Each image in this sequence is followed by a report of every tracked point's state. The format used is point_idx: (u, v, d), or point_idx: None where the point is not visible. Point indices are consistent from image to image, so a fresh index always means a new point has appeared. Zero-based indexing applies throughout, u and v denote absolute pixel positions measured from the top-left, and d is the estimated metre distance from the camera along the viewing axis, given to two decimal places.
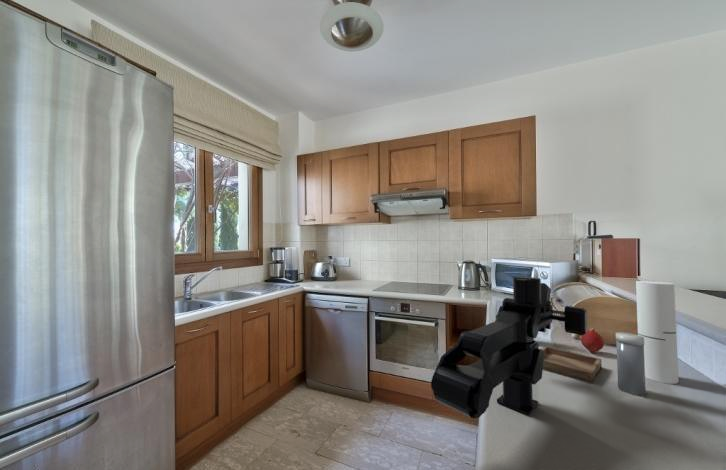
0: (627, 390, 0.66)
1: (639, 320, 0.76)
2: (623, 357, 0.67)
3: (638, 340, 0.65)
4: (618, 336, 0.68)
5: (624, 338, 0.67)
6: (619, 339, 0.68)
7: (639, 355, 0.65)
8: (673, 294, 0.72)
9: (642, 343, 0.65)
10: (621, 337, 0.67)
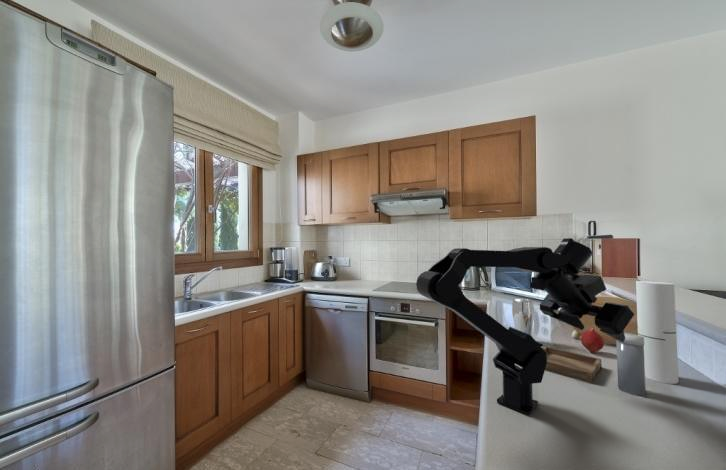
0: (627, 390, 0.66)
1: (639, 320, 0.76)
2: (623, 357, 0.67)
3: (638, 340, 0.65)
4: None
5: None
6: None
7: (639, 355, 0.65)
8: (673, 294, 0.72)
9: (642, 343, 0.65)
10: None
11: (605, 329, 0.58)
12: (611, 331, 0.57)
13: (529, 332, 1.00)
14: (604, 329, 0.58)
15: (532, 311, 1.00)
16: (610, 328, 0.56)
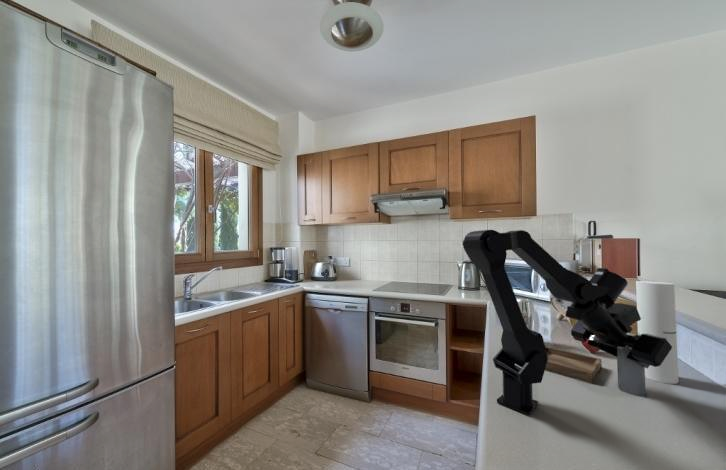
0: (627, 390, 0.66)
1: None
2: (623, 357, 0.67)
3: None
4: None
5: None
6: None
7: None
8: (673, 294, 0.72)
9: None
10: None
11: (643, 361, 0.59)
12: (649, 363, 0.58)
13: None
14: (641, 360, 0.60)
15: (532, 311, 1.00)
16: (648, 360, 0.58)
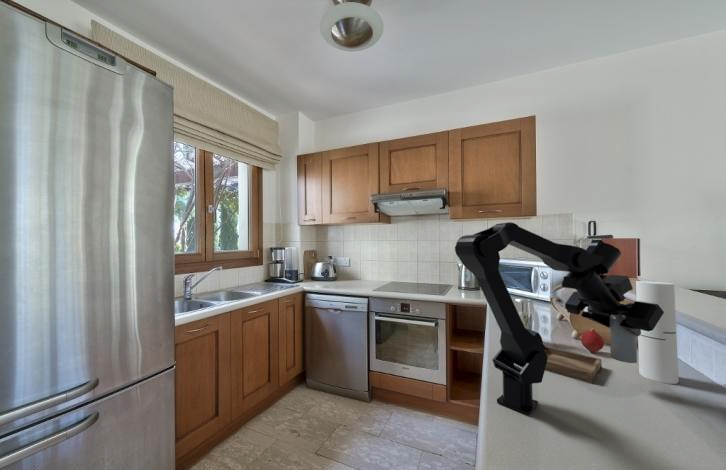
0: (620, 358, 0.68)
1: None
2: (615, 326, 0.68)
3: None
4: None
5: None
6: None
7: None
8: (673, 294, 0.72)
9: None
10: None
11: (636, 326, 0.61)
12: (642, 328, 0.60)
13: None
14: (635, 326, 0.61)
15: (532, 311, 1.00)
16: (642, 325, 0.59)
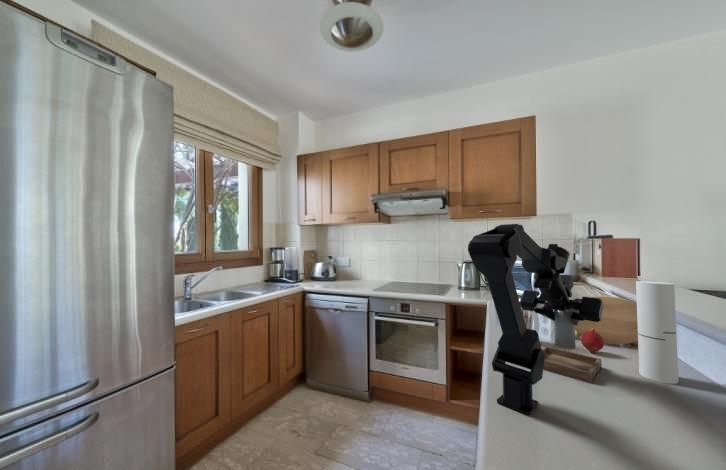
0: (565, 346, 0.78)
1: (639, 320, 0.76)
2: (562, 319, 0.79)
3: None
4: None
5: None
6: None
7: None
8: (673, 294, 0.72)
9: None
10: None
11: (587, 318, 0.71)
12: (593, 320, 0.70)
13: None
14: (586, 318, 0.72)
15: (532, 311, 1.00)
16: (594, 317, 0.70)
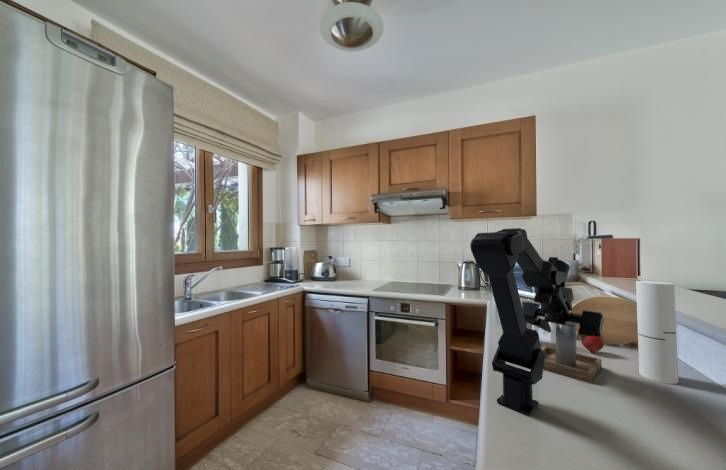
0: (565, 364, 0.78)
1: (639, 320, 0.76)
2: (563, 336, 0.79)
3: None
4: None
5: None
6: None
7: (575, 333, 0.79)
8: (673, 294, 0.72)
9: (576, 323, 0.79)
10: None
11: (588, 333, 0.71)
12: (593, 334, 0.70)
13: None
14: (587, 333, 0.71)
15: None
16: (594, 332, 0.70)
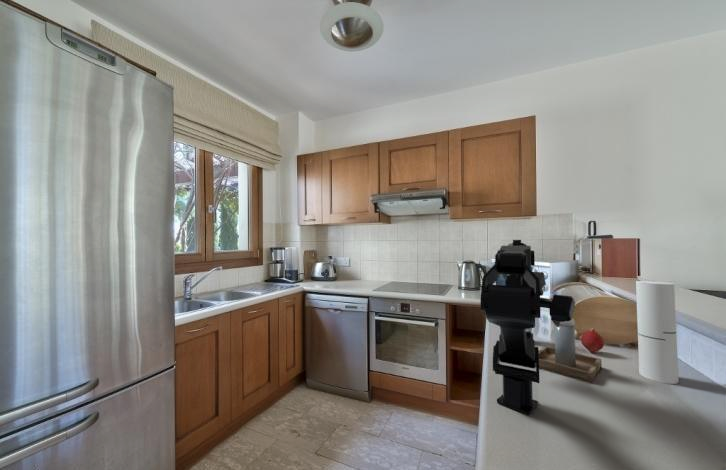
0: (565, 364, 0.78)
1: (639, 320, 0.76)
2: (562, 337, 0.79)
3: (572, 321, 0.78)
4: None
5: None
6: None
7: (573, 334, 0.78)
8: (673, 294, 0.72)
9: (574, 323, 0.79)
10: None
11: (558, 318, 0.67)
12: (563, 319, 0.66)
13: None
14: (557, 318, 0.67)
15: None
16: (564, 316, 0.65)
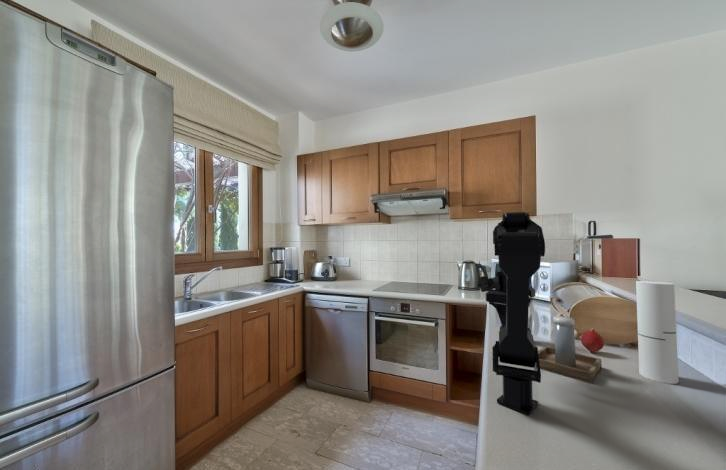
0: (565, 364, 0.78)
1: (639, 320, 0.76)
2: (562, 337, 0.79)
3: (572, 321, 0.79)
4: (557, 320, 0.80)
5: (563, 321, 0.79)
6: (558, 322, 0.80)
7: (573, 333, 0.79)
8: (673, 294, 0.72)
9: (574, 323, 0.79)
10: (560, 320, 0.79)
11: (533, 294, 0.78)
12: (534, 294, 0.79)
13: None
14: (532, 294, 0.78)
15: (532, 311, 1.00)
16: (534, 290, 0.79)
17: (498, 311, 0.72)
